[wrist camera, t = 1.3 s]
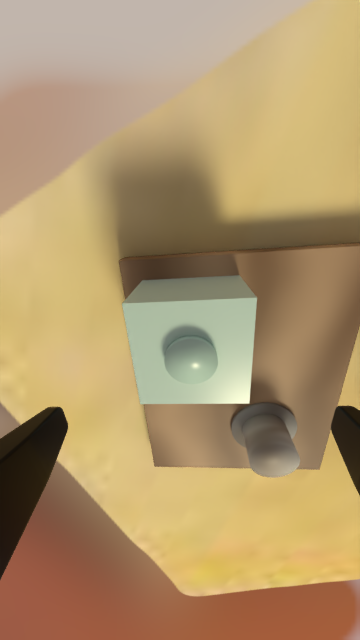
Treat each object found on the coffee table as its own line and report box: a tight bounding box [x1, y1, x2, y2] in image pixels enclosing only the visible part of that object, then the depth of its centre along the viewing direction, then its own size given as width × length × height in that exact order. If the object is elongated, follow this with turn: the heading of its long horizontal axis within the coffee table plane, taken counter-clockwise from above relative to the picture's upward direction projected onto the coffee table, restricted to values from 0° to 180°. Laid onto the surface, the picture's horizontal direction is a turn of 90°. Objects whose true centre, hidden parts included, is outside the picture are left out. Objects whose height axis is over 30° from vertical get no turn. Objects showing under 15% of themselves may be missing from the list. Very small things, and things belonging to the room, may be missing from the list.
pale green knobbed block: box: [122, 275, 257, 404], centre depth 12 cm, size 6×6×4 cm
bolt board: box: [119, 243, 360, 477], centre depth 15 cm, size 14×18×4 cm
